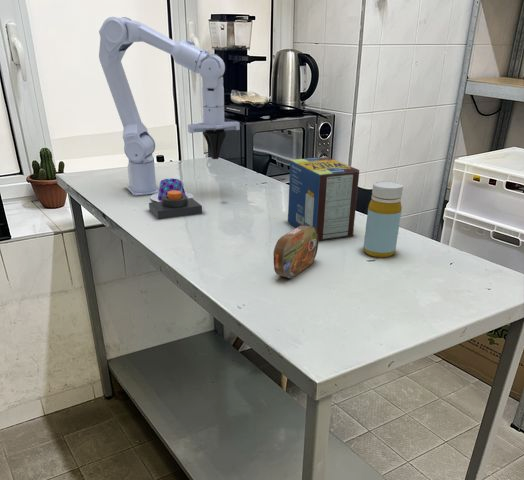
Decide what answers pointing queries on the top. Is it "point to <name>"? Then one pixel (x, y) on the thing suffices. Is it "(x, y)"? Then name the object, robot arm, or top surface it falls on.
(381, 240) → the bottle
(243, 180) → the top surface
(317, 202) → the protein box
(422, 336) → the top surface
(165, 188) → the pudding
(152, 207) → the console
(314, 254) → the tin
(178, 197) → the button
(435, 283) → the top surface
